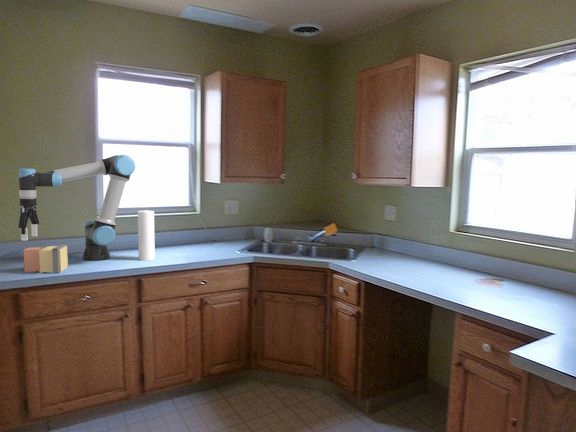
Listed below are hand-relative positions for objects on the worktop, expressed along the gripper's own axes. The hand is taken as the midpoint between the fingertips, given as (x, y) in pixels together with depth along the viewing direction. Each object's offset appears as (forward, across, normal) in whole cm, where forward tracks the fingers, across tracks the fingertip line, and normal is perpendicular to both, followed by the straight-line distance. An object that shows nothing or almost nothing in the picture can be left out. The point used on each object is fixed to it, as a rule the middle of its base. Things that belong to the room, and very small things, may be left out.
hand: (29, 238), depth 218 cm
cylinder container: (+17, -22, +56) cm, 63 cm away
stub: (+18, 0, +2) cm, 18 cm away
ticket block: (+17, 0, +11) cm, 21 cm away
